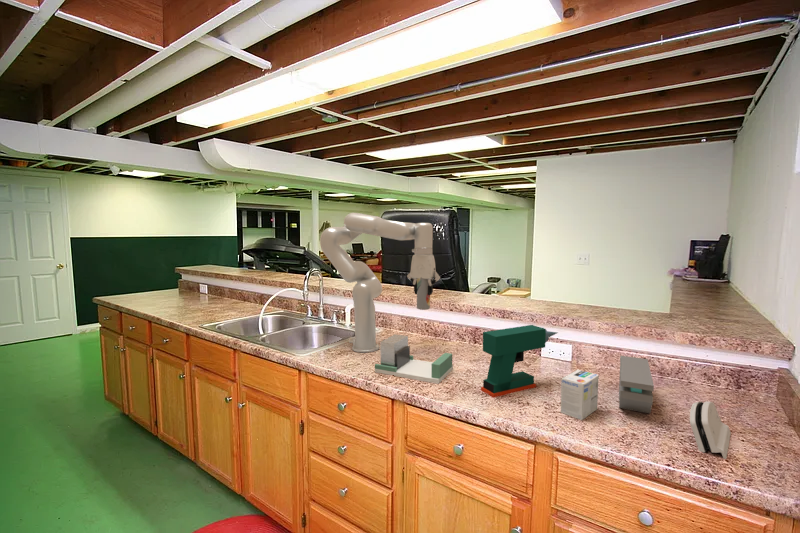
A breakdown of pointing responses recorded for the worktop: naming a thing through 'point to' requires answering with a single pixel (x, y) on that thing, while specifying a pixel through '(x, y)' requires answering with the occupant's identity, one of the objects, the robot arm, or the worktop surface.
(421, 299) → the lotion bottle
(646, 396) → the gray lidded box
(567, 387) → the light bulb box
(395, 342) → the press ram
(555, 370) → the worktop surface
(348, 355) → the worktop surface
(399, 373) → the frame
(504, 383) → the power tool
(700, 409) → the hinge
